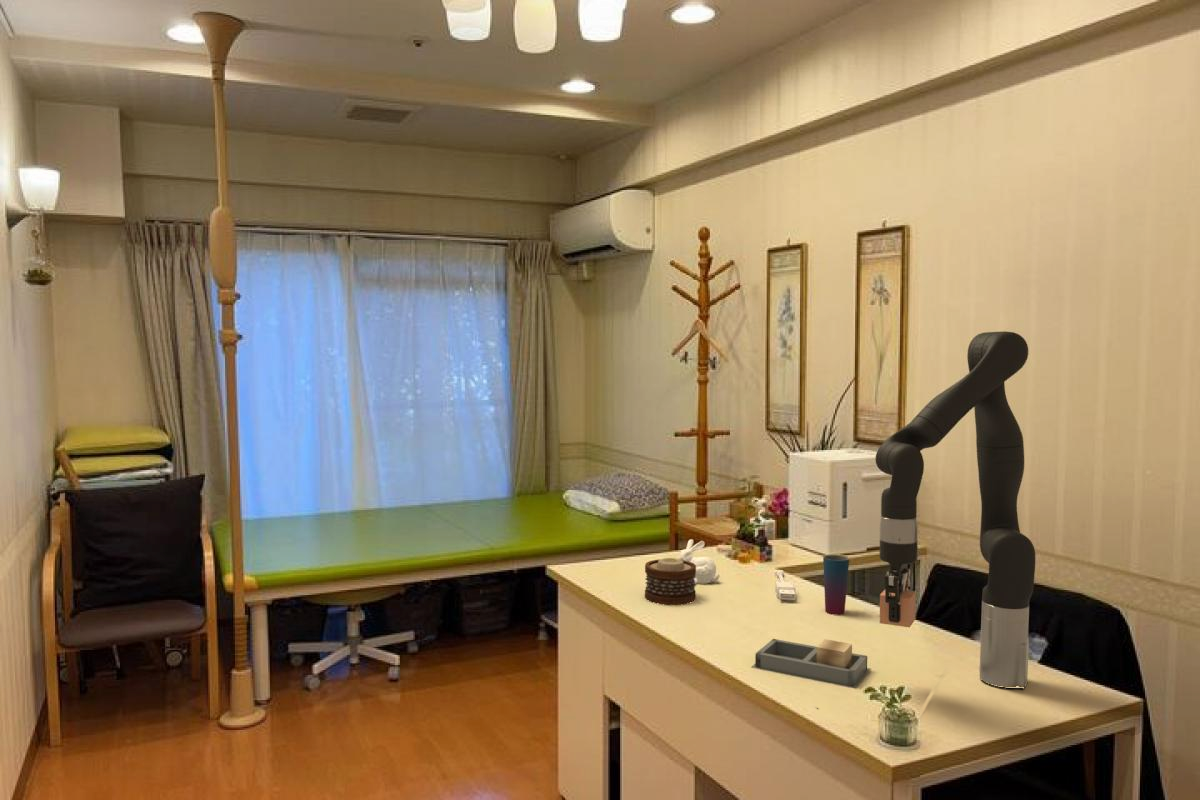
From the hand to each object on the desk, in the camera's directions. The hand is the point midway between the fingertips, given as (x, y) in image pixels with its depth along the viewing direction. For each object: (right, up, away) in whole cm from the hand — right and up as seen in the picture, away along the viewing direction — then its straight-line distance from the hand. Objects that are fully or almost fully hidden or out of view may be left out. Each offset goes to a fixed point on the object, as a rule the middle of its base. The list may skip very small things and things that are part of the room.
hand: (897, 617), depth 188 cm
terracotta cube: (0, -1, 0) cm, 1 cm away
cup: (+1, -12, +54) cm, 56 cm away
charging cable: (-8, -11, +78) cm, 79 cm away
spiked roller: (-42, -11, +67) cm, 80 cm away
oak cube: (-11, -14, +8) cm, 20 cm away
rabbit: (-33, -10, +85) cm, 92 cm away
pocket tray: (-16, -15, +10) cm, 24 cm away
